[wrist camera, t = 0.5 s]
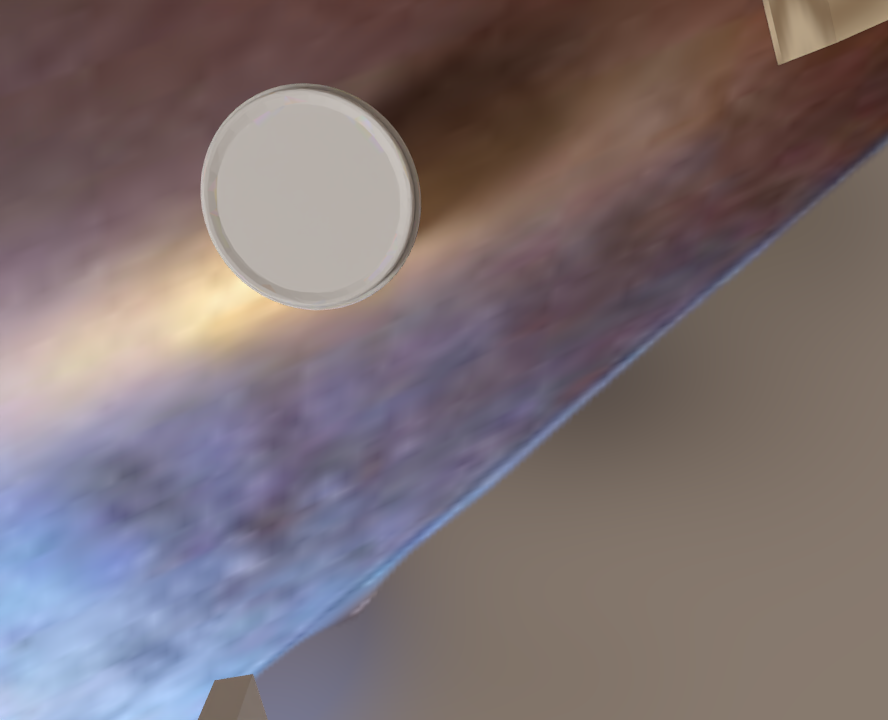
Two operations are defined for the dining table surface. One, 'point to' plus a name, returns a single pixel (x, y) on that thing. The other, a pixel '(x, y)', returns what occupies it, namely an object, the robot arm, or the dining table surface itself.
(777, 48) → the socket block
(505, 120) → the dining table surface
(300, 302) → the white lidded canister
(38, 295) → the dining table surface
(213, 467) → the dining table surface
